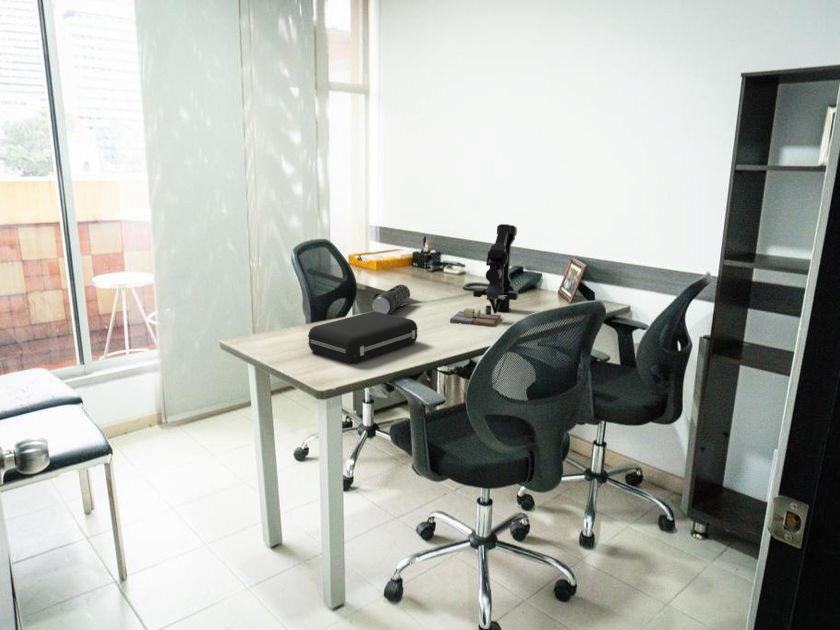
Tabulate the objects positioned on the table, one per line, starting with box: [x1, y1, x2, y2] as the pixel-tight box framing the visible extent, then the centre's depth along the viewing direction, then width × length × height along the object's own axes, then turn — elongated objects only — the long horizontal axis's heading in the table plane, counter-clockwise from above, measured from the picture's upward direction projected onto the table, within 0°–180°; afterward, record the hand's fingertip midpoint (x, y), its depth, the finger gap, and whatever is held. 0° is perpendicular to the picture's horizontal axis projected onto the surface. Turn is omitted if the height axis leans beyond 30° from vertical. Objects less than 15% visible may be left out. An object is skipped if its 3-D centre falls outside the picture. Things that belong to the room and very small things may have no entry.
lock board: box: [449, 310, 502, 328], centre depth 273 cm, size 15×19×2 cm
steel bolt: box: [473, 304, 492, 318], centre depth 271 cm, size 2×8×5 cm, turn 70°
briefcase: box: [307, 310, 419, 364], centre depth 235 cm, size 36×32×10 cm
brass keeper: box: [463, 307, 482, 319], centre depth 273 cm, size 4×7×3 cm, turn 70°
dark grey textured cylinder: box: [371, 284, 411, 315], centre depth 287 cm, size 10×28×10 cm, turn 163°
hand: (495, 313), depth 269 cm, fingers closed
